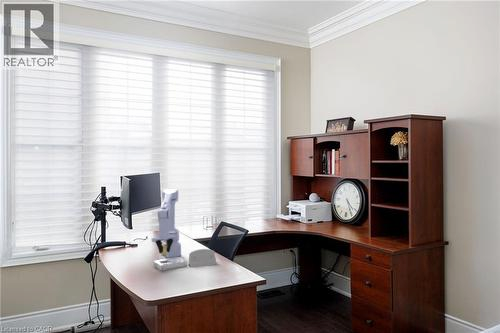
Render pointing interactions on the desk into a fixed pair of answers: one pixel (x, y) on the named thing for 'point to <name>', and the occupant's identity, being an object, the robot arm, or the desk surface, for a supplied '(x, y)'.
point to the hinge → (202, 258)
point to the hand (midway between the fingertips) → (164, 252)
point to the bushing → (164, 250)
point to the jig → (170, 263)
